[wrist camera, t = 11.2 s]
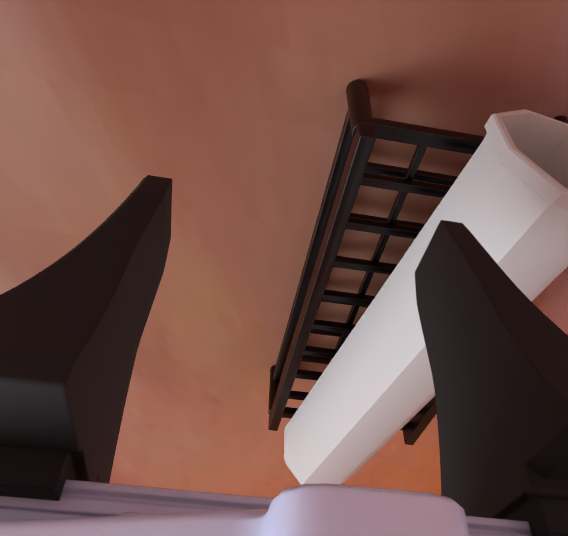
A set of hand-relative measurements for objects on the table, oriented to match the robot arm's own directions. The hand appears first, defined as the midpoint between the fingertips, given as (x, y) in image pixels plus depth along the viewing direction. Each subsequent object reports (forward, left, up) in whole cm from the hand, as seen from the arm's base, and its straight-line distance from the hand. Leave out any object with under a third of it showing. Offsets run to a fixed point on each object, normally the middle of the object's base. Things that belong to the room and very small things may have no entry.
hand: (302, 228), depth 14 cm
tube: (-13, +3, -7) cm, 15 cm away
